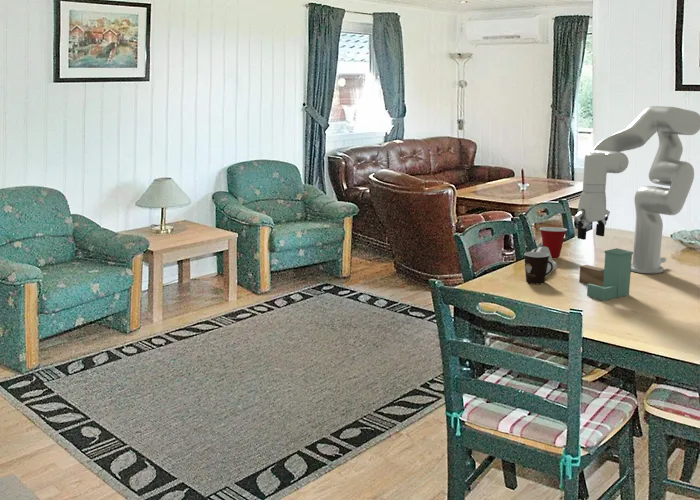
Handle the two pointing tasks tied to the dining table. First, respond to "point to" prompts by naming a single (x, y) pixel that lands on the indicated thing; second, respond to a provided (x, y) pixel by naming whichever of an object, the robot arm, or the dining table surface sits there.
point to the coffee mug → (536, 267)
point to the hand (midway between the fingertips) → (590, 237)
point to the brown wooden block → (591, 275)
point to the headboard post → (613, 276)
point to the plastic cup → (553, 239)
